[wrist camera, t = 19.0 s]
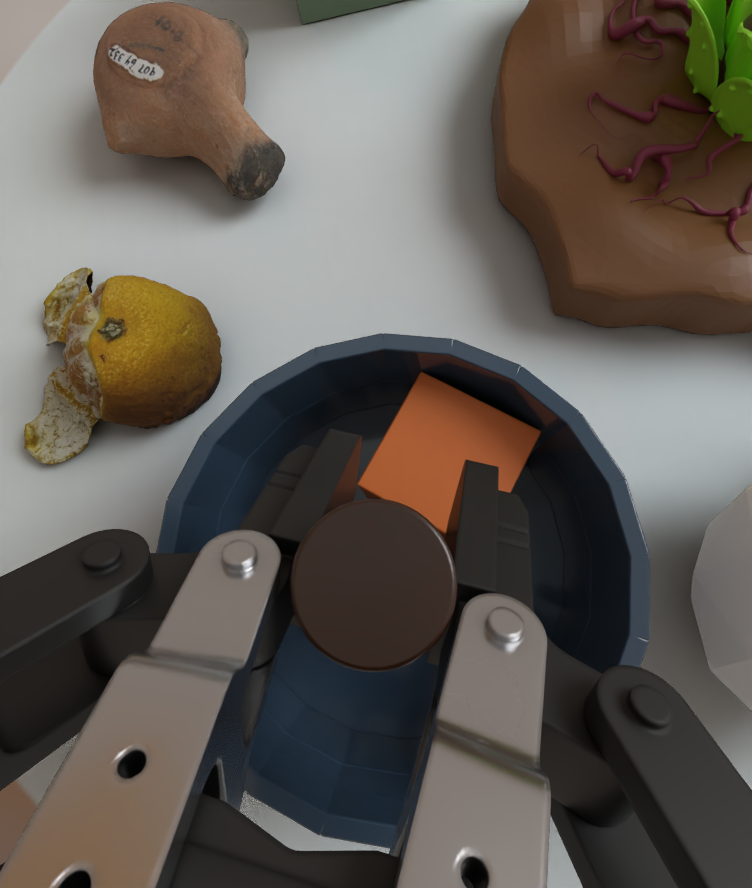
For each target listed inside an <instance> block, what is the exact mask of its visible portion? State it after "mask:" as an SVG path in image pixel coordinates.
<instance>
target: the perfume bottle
mask: <svg viewBox="0 0 752 888" xmlns="http://www.w3.org/2000/svg"><path fill="white" fill-rule="evenodd" d="M691 601H692V605H693V609H694V612H695V616H696V620H697V624H698V627H699V631H700V635H701V639H702V643H703V646H704V650H705V654H706V658H707V661H708V665H709V669H710V671H711V672H712V673H713V674H714V675H715V676H716V677H717V678H718V679H719V680H721V681H722V682H723V683H724V684H725V685H726V686H727V687H728V688H729V689H730V690H731V691H732V692H733V693H734V694H735V695H736V696H737V697H738V698H739V699H740V700H741V701H742V702H743V703H744V704H745V705H746V706H747V707H748V708H749V709H750V710H751V711H752V485H750V486H749V487H748V488H746V489H745V490H744V491H743V492H742V493H741V494H740V495H739V496H738V497H737V498H736V499H735V500H733V501H732V502H731V503H730V504H729V505H728V506H727V507H726V508H725V509H724V510H723V511H722V512H721V513H720V514H718V515H717V516H716V517H715V518H714V519H713V520H712V521H711V522H710V523H709V524H708V526H707V529H706V532H705V536H704V539H703V542H702V546H701V549H700V552H699V555H698V559H697V562H696V565H695V569H694V572H693V579H692V590H691Z"/></svg>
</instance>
